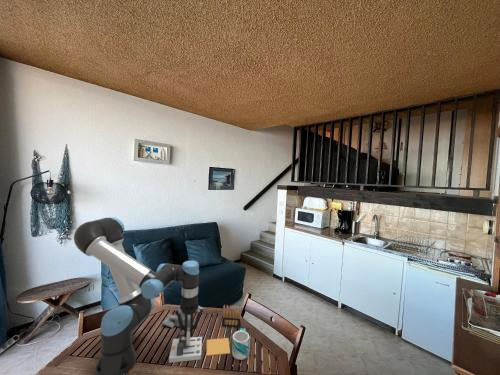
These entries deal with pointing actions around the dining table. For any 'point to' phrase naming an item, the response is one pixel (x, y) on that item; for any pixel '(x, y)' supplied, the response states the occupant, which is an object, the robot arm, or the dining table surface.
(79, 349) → the dining table surface
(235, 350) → the mug
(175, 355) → the breaker panel
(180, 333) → the breaker
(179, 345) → the block
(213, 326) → the dining table surface
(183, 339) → the breaker
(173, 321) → the camera
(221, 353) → the pad
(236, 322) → the ammunition clip
